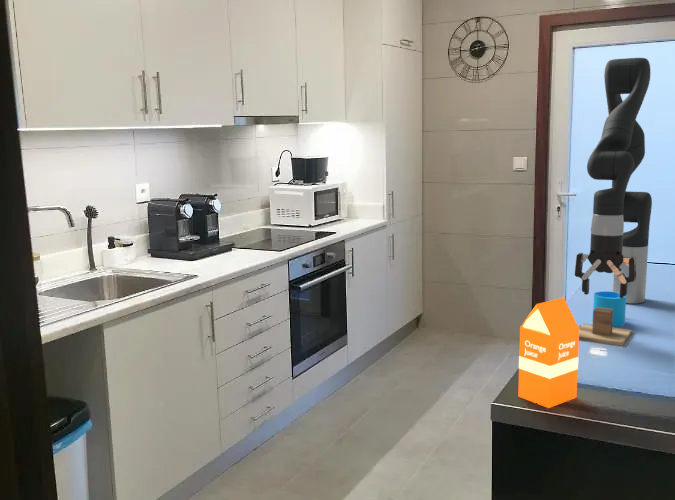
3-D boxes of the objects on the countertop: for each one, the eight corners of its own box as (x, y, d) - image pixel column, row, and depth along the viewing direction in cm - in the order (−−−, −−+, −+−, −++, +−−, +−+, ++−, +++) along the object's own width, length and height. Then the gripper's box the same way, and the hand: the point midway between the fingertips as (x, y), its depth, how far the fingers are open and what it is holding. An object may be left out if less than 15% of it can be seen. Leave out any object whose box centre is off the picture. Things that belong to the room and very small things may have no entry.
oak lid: (583, 326, 187) (584, 301, 186) (631, 332, 180) (632, 307, 179) (572, 338, 177) (573, 312, 176) (622, 345, 170) (623, 318, 169)
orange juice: (577, 397, 140) (581, 300, 137) (548, 408, 135) (552, 308, 132) (545, 386, 147) (548, 293, 143) (517, 396, 142) (519, 300, 138)
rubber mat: (580, 326, 188) (580, 325, 188) (636, 333, 181) (636, 332, 181) (566, 340, 177) (567, 338, 176) (625, 348, 169) (626, 347, 169)
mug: (620, 330, 185) (622, 300, 183) (589, 325, 189) (590, 296, 188) (630, 319, 194) (632, 290, 193) (600, 315, 199) (601, 287, 197)
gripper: (640, 232, 173) (636, 296, 176) (581, 228, 181) (578, 289, 183) (635, 236, 167) (631, 302, 170) (573, 232, 174) (571, 295, 177)
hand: (603, 295), depth 177 cm, fingers open, 8 cm apart
